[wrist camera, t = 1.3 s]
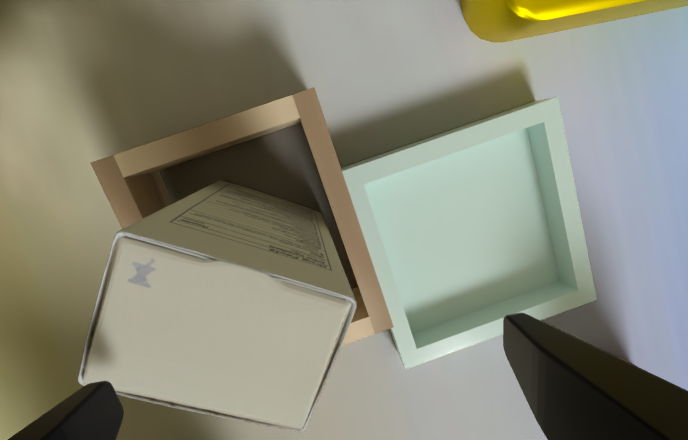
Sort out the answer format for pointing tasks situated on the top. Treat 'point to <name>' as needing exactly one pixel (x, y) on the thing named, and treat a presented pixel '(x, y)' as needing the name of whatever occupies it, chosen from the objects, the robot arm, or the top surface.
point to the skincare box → (222, 308)
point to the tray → (474, 230)
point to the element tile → (550, 15)
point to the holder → (147, 160)
